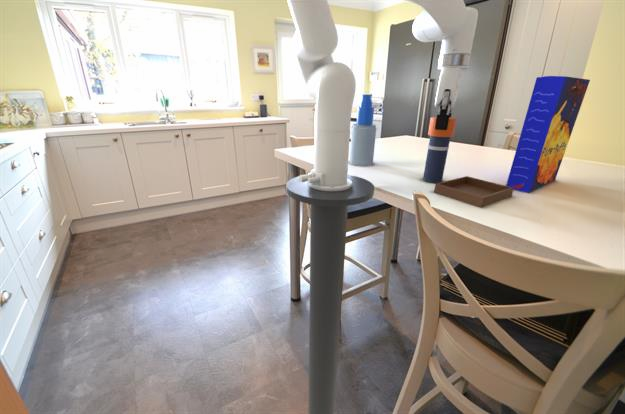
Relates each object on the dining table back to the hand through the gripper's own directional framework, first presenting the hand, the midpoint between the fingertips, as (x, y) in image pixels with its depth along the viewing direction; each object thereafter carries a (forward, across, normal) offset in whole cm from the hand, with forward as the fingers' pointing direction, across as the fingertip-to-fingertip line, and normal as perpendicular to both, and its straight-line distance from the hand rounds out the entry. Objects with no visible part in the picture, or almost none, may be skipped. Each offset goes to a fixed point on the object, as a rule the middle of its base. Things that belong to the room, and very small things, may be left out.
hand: (442, 127), depth 83 cm
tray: (+16, +9, +11) cm, 21 cm away
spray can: (+16, 0, 0) cm, 16 cm away
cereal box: (+16, -12, +27) cm, 34 cm away
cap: (+2, 0, 0) cm, 2 cm away
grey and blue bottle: (+16, -11, -27) cm, 34 cm away
